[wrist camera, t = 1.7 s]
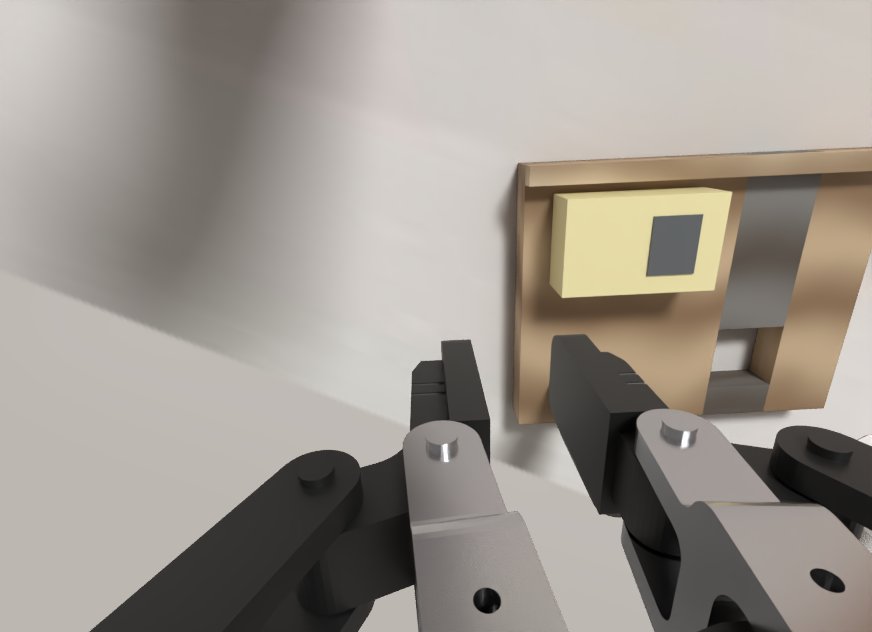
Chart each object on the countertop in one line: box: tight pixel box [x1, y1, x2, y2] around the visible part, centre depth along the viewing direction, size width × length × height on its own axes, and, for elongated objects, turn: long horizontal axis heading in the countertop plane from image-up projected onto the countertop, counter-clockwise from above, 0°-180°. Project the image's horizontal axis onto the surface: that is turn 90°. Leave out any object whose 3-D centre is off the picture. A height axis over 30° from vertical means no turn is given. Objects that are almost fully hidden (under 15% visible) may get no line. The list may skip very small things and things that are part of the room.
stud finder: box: [549, 187, 732, 298], centre depth 24 cm, size 5×8×3 cm, turn 92°
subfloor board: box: [513, 147, 872, 424], centre depth 28 cm, size 16×20×3 cm
